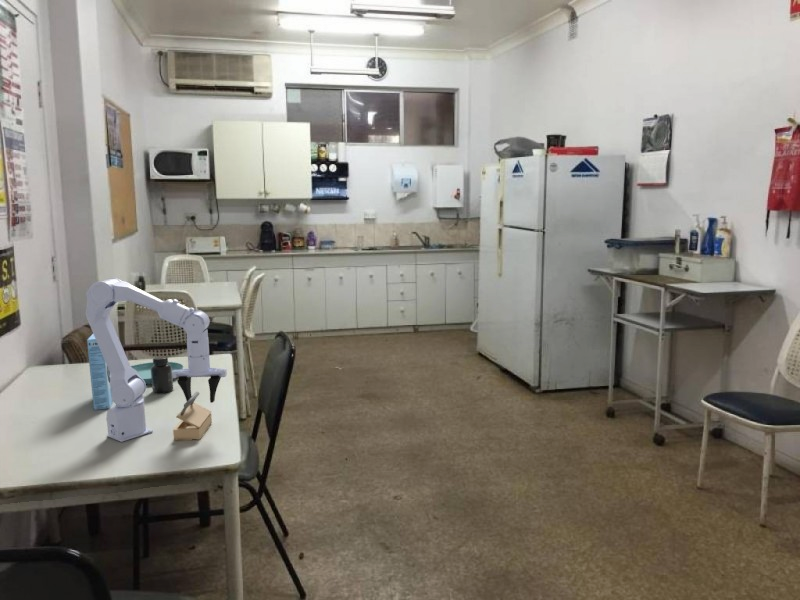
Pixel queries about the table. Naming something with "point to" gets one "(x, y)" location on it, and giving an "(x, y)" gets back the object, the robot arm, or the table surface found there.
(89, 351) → the gum box
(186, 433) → the carton
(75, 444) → the table surface
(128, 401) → the robot arm
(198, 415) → the lid
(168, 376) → the supplement bottle
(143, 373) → the saucer
